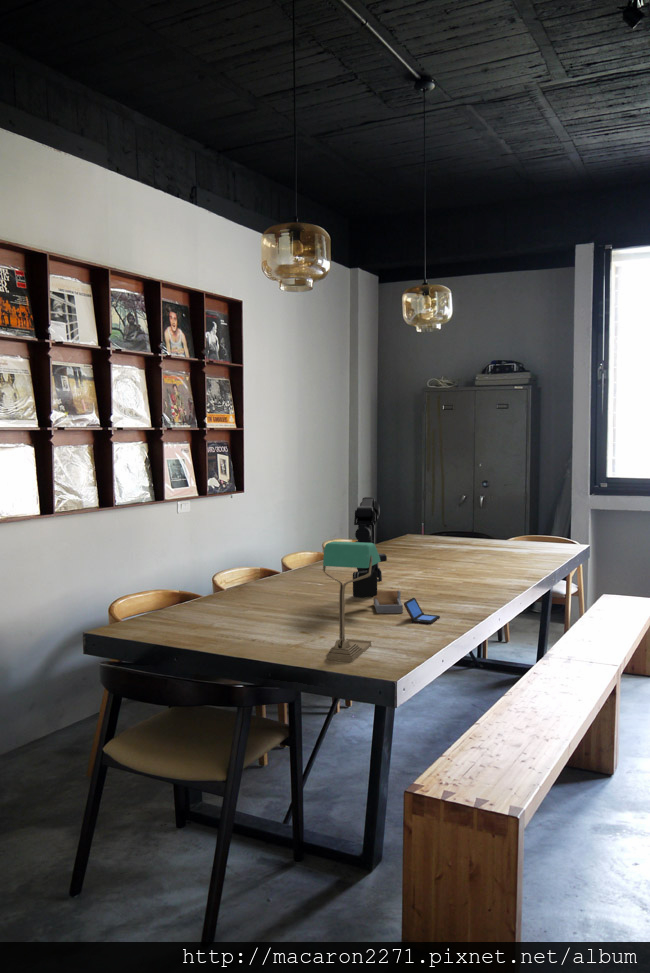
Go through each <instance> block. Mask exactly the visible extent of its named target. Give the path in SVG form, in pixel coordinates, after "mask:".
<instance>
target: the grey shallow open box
mask: <svg viewBox="0 0 650 973" xmlns="http://www.w3.org/2000/svg"><path fill="white" fill-rule="evenodd" d="M374 608H375V611H376V613H377V614H403V613H404V604H403V603H402V601H400V599H399V598H396V604H381V605H379V602H378V600H377V598H375V605H374Z"/></svg>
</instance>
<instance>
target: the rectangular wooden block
mask: <svg viewBox="0 0 650 973" xmlns="http://www.w3.org/2000/svg"><path fill="white" fill-rule="evenodd" d="M401 594H402V593H401V590H399V589H398V590H395V589H394V590H377V595H376V596H372V597H373V599H372V600H373V601H372V602H373V605H374V606H375V598H377V600H378V602H379V605H381V604H396V598H399V599H400V601H401ZM401 602H402V601H401Z"/></svg>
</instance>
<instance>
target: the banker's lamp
mask: <svg viewBox="0 0 650 973" xmlns="http://www.w3.org/2000/svg"><path fill="white" fill-rule="evenodd" d="M378 553H379V552H378V549H377V547H376V544H375V545H374V544H373V543H361V542H356V541H355V542H353V541H337V540H336V541H335V540H334V541H330V542H327V543H325V546H324V549H323V560H322V562H323V563H322V572H323V573H324V574H325V576H327V577H329V579H332V580H334V581H335V582H337V583H339V592H338V593H339V594H338V595H339V596H338V601H339V603H338V604H339V606H338V608H339V610H338V613H339V614H338V615H339V616H338V617H339V618H338V619H339V623H338V624H339V636H338V637H339V638H338V639H336V640H335V642H334V643H335V644H334V645H333V646H332V647H330V649H329V651H328V652H327V653H326V655H325V660H326V659H330V660H329V661H336V660H340V661H339V662H348V663H353V662H355V661H356V660H357V659H358V658H359V657H360V656H361V655H362V654H364V653H365V652H366V651H367V650H368V649H370V648H371V647H372V640H368V639H365V640H364V639H354V638H346V635H345V634H346V633H345V632H346V631H345V630H346V629H345V622H346V621H345V618H346V617H345V592H346V591H345V590H346V586H347V585H348V584H351V583H353V582H354V581H357V580H360V579H364V578H367V577H369V576H370V575H371V568H372V566H373V565H375V564H377V563H378V564H379V563H381V562H380V561H381V560H380V557H379V554H378ZM326 567H334V568H335V567H336V568H351V569H352V568H353V569H357V568H369V573H368V574H366V575H364V576H361V577H358V578H356V579H353V578H352V579H351V580H348V581H345V582H344V583H343V582H342V581H340V580H338V579H337V578H334V577H333V576H332V575H330V574H329V573H328V572H326ZM369 647H370V648H369ZM363 652H364V653H363ZM357 657H358V658H357ZM356 658H357V659H356Z"/></svg>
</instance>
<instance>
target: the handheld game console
mask: <svg viewBox="0 0 650 973" xmlns="http://www.w3.org/2000/svg"><path fill="white" fill-rule="evenodd" d="M403 607H404V608H405V610H406V612H407V613H408V615H409V617H410V619H411V624H418V623H419V624H421V625H428V624H430V625H432V624H434V623H435V622H436V621H438V620H439V619H440V618H441V615H437V614H436V615H435V614H427V613H424V612H423V610H422V609H421V607H420V604H419V603H418V601H417V599H416V597H412V598H410V599H408V600H407V601H405V602H404V603H403ZM437 619H438V620H437ZM433 622H434V623H433Z"/></svg>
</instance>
